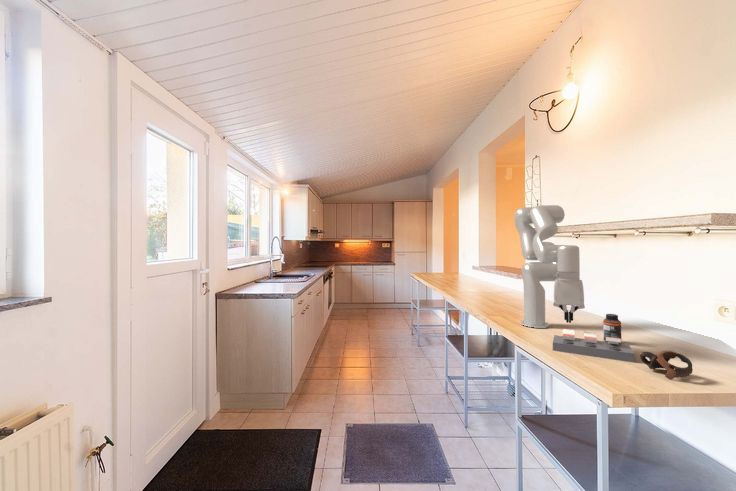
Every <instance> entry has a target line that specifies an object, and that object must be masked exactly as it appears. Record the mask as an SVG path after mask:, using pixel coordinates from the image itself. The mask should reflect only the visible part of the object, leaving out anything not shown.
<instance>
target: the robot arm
mask: <svg viewBox="0 0 736 491" xmlns="http://www.w3.org/2000/svg"><path fill="white" fill-rule="evenodd" d="M564 219H565V211H564V209H563V207H562V206H561V205H555V204H553V205H550V204H549V205H548V204H547V205H546V204H545V205H543V204H542V205H536V206H533V207H532V206H531V207H529V206H528V207H526V206H525V207H521V208H518V209H517V210H516V211H515V212H514V225H515V228H516V231H517V232H518V234H519V240H520V247H521V254H522V257H523V259H525V260H526V261H529V262H525V263H523V265H522V267H521V276H522V282H523V320H522V321H520V325H521V326H523V325H524V326H523V327H526V326H528V327H527V328H531V327H534V328H533V329H548V328H549V327H550V324H549V323H548V322H546V291H545V288H544V286H543V285H542V283H541V282H554V287H553V303H552V305H553V307H556V308H560V309H561V310H562V311H563V314H564V315H563V316H564V320H565V321H566V323H569V324H571V323H572V322H574V313H575V312H576V311H577V310H582V309H585V308H586V306H585V292H584V290H585V289H584V283H583V280H582V279H581V278H580V277H581V276H580V274H581V272H580V271H581V270H580V267H581V266H580V265H581V264H580V259H581V258H580V247H579V246H578V245H572V244H571V245H570V244H568V245H567V244H555V243H553V242H551V241H545V240H547V239H549V238H552V237H554V236H556V235H557V233H558V231H559V226H558V225H557V224H559V223H562V222H563V220H564ZM532 225H534V227H533V226H532ZM530 261H531V262H530ZM567 306H570V310H568V307H567Z"/></svg>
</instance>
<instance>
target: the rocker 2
mask: <svg viewBox="0 0 736 491" xmlns="http://www.w3.org/2000/svg"><path fill="white" fill-rule="evenodd" d="M621 339H622V338H621ZM621 339H620V338H612V337H606V341H608V343H610V344H618V345H619V343H620V342H621V343H622V341H621ZM621 343H620V344H621Z"/></svg>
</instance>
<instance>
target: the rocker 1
mask: <svg viewBox="0 0 736 491" xmlns="http://www.w3.org/2000/svg"><path fill="white" fill-rule="evenodd" d="M575 334H576V333H575V329H568V328H567V329H566V328H562V335H561V336H562V339H569V340H575V338H576V337H575V336H576V335H575Z"/></svg>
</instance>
